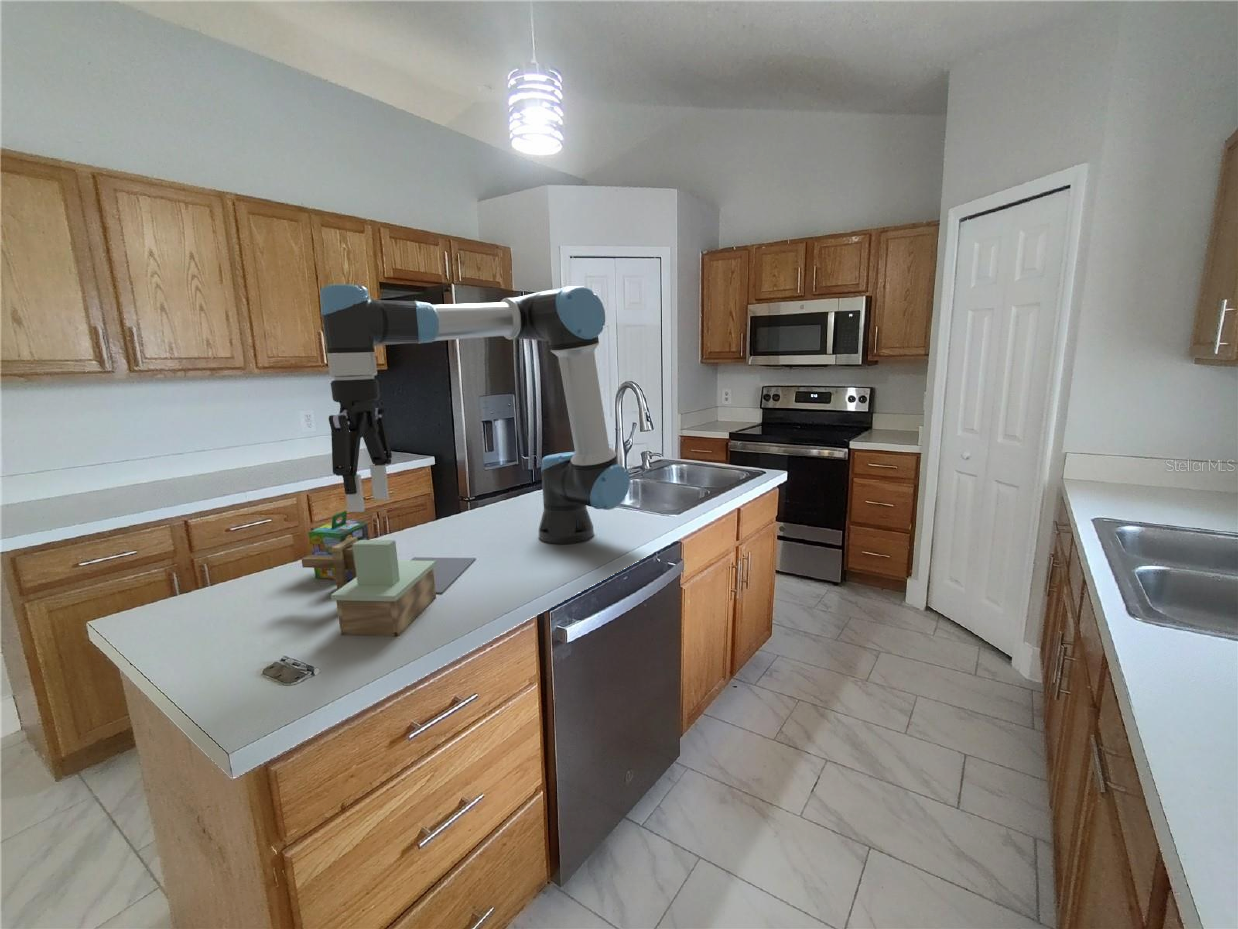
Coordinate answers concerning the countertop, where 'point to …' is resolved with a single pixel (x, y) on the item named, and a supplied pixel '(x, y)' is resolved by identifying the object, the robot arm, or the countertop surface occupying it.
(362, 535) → the chalk box
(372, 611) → the wooden storage box
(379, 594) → the lid
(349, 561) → the brown wooden bar
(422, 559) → the mat
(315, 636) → the countertop surface
